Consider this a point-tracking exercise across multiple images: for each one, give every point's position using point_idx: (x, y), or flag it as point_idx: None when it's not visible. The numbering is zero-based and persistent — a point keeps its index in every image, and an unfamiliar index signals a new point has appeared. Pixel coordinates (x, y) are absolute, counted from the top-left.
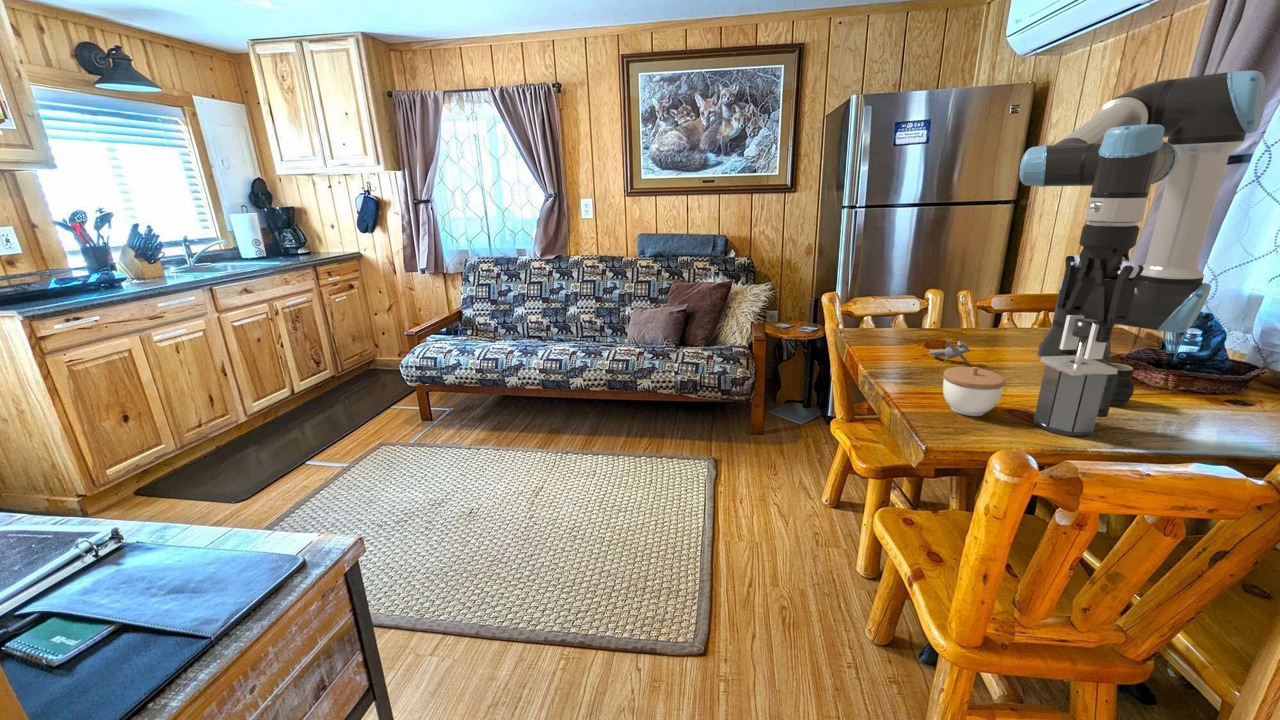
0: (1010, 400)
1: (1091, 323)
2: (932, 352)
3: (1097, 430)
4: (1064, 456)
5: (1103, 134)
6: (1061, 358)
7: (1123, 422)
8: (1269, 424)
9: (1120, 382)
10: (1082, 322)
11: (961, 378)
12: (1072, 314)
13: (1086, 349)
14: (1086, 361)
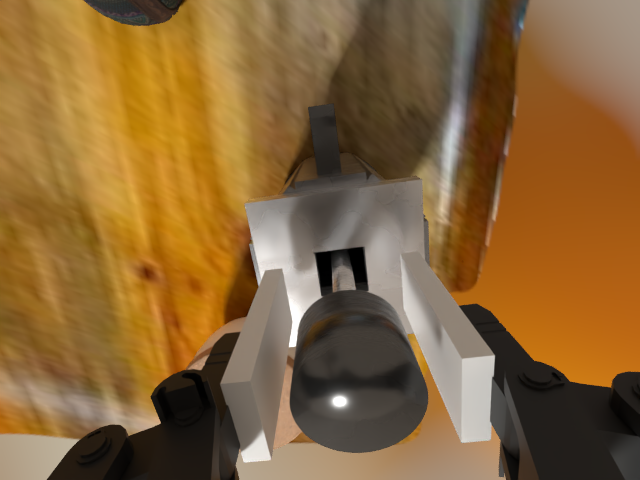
0: (189, 238)
1: (421, 416)
2: None
3: (351, 142)
4: (465, 278)
5: None
6: (296, 299)
7: (300, 41)
8: None
9: None
10: (391, 444)
11: (277, 439)
12: (234, 439)
13: (414, 330)
14: (329, 236)
